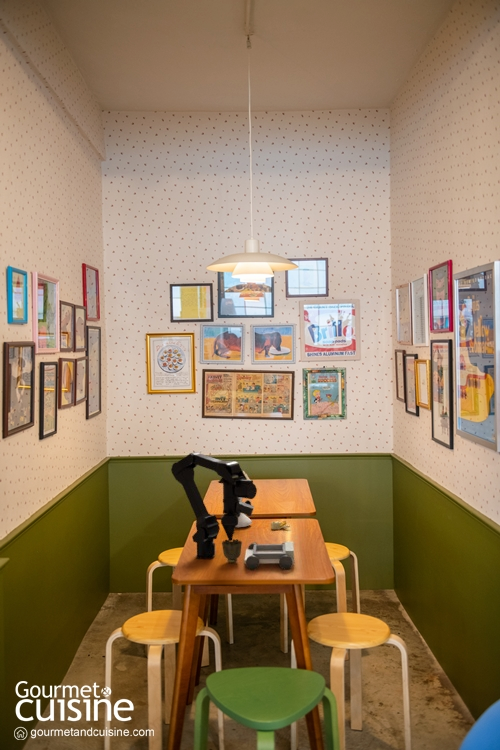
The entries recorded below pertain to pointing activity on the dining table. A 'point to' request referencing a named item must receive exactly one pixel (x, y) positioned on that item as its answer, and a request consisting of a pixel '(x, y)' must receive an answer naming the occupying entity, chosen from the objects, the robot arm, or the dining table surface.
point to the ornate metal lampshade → (232, 550)
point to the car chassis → (270, 555)
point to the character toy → (279, 525)
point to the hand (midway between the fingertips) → (231, 537)
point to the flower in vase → (243, 518)
